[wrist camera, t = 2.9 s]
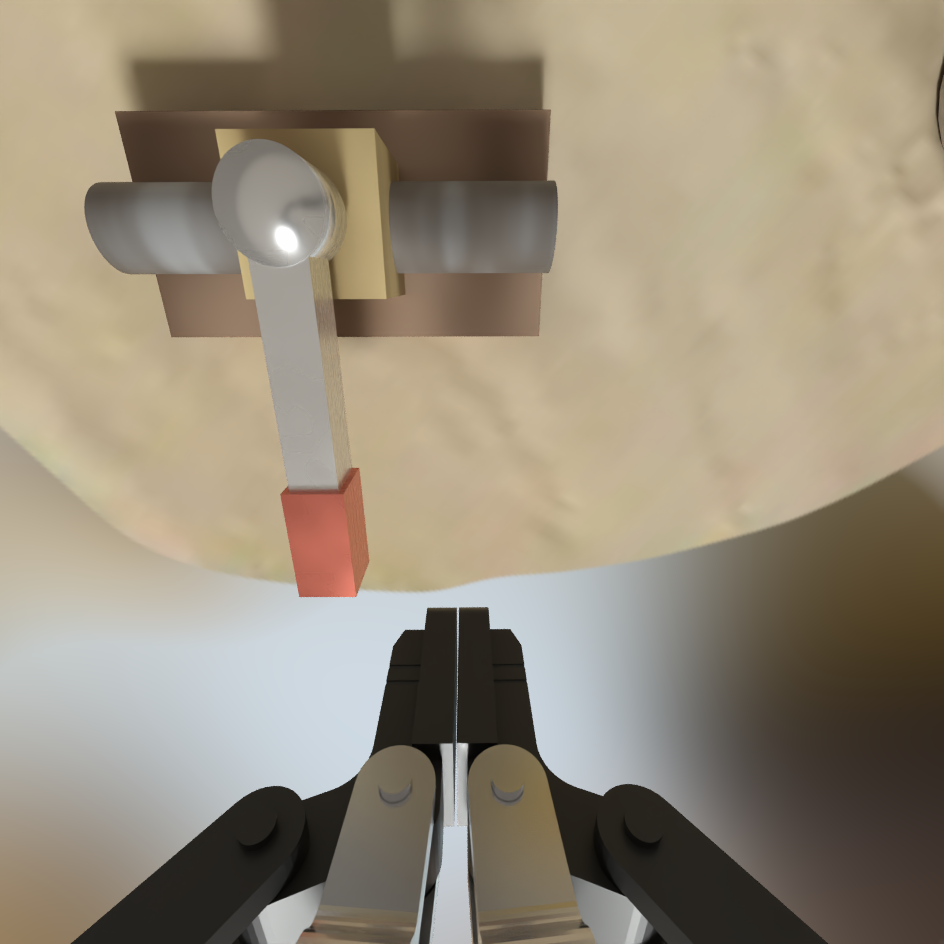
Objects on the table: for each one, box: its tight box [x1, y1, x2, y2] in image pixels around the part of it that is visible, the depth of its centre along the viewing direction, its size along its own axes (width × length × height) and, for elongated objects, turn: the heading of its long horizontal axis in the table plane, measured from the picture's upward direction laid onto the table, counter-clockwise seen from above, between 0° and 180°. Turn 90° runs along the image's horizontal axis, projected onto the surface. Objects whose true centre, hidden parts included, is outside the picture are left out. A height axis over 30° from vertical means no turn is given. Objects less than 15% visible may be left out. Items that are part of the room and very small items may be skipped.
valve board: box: [85, 110, 558, 337], centre depth 17 cm, size 16×8×7 cm, turn 90°
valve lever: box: [212, 139, 369, 597], centre depth 14 cm, size 13×3×2 cm, turn 0°
